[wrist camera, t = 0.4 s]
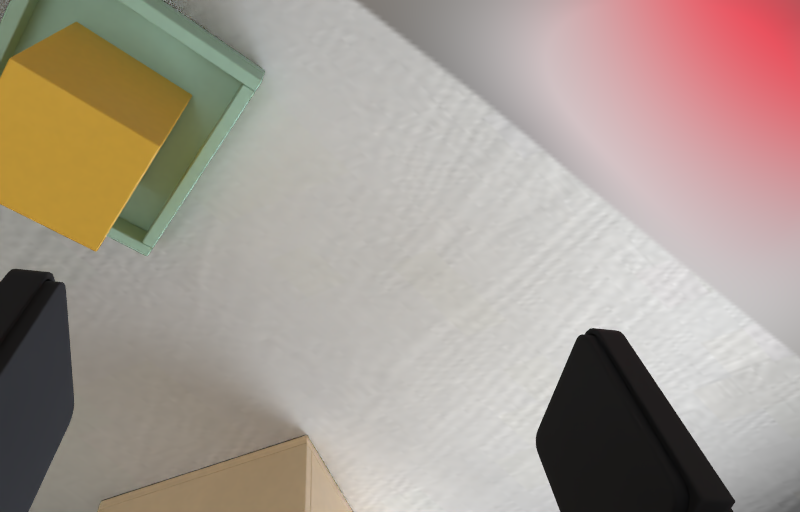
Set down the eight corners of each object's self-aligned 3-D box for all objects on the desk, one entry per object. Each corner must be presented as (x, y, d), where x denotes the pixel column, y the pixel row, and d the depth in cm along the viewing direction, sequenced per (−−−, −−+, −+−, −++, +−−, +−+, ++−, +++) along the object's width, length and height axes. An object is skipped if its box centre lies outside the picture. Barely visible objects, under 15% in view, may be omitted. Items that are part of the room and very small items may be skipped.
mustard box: (76, 20, 22) (8, 57, 17) (193, 95, 24) (160, 146, 19) (25, 121, 24) (-49, 180, 19) (138, 184, 25) (96, 252, 21)
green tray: (58, -72, 21) (41, -69, 20) (265, 70, 24) (262, 81, 23) (-39, 137, 24) (-60, 151, 23) (155, 239, 27) (147, 257, 26)
